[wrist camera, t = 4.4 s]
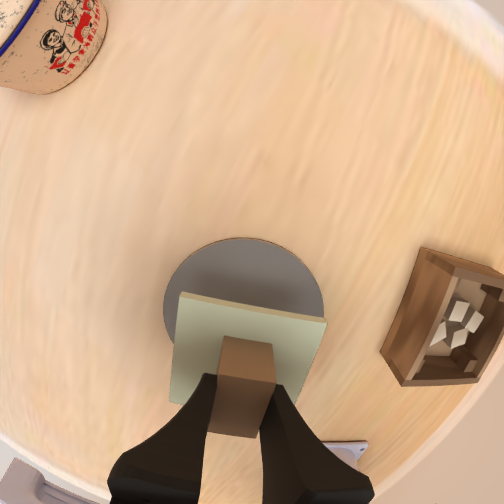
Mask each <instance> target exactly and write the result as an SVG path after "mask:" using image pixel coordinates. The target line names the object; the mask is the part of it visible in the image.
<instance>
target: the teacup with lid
mask: <svg viewBox="0 0 504 504" xmlns="http://www.w3.org/2000/svg"><path fill="white" fill-rule="evenodd" d="M106 26H107V16H106V11H105V9H104V7H103V5H102V4H101V2H100V1H99V0H0V86H2V87H7V88H12V89H17V90H21V91H26V92H30V93H34V94H47V93H51V92H54V91H57V90H59V89H61V88H63V87H64V86H66V85H67V84H69V83H70V82H72V81H73V80H74V79H75V78H76V77H78V76H79V75H80V74H81V73H82V72H83V70H84V69H85V68H86V67H87V66H88V65H89V63H90V62H91V61H92V59H93V58H94V56H95V55H96V53H97V51H98V49H99V48H100V45H101V43H102V41H103V38H104V35H105V32H106Z"/></svg>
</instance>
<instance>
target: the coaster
mask: <svg viewBox="0 0 504 504" xmlns="http://www.w3.org/2000/svg"><path fill="white" fill-rule="evenodd" d="M182 291H183V292H187V293H192V294H197V295H201V296H206V297H211V298H216V299H221V300H226V301H231V302H236V303H241V304H247V305H252V306H257V307H263V308H268V309H274V310H280V311H285V312H291V313H297V314H303V315H309V316H316V317H322V318H323V315H324V313H323V300H322V295H321V292H320V289H319V286H318V284H317V282H316V280H315V278H314V277H313V275H312V273H311V272H310V271H309V269H308V268H307V266H306V265H305V264H304V263H303V262H302V261H301V260H300V259H299V258H298V257H296V256H295V255H294V254H293V253H291V252H290V251H288V250H286V249H285V248H283V247H281V246H278V245H276V244H274V243H271V242H268V241H264V240H260V239H253V238H232V239H225V240H221V241H217V242H214V243H212V244H209V245H207V246H205V247H203V248H201V249H199V250H198V251H196V252H195V253H193V254H192V255H191V256H189V257H188V258H187V259H186V260H185V261H184V262H183V263H182V264H181V265H180V267H179V268H178V269H177V271H176V272H175V273H174V275H173V277H172V279H171V281H170V282H169V284H168V287H167V290H166V293H165V298H164V305H163V314H164V322H165V325H166V329H167V332H168V334H169V336H170V339H171V340H172V342H173V344H174V339H175V330H176V321H177V312H178V304H179V297H180V294H181V292H182Z"/></svg>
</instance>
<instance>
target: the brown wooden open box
mask: <svg viewBox="0 0 504 504" xmlns="http://www.w3.org/2000/svg"><path fill="white" fill-rule="evenodd" d="M503 335H504V275H503V274H501V273H499V272H498V271H496V270H494V269H492V268H490V267H486V266H483V265H480V264H477V263H474V262H470V261H467V260H464V259H461V258H457V257H454V256H451V255H447V254H444V253H441V252H437V251H434V250H430V249H427V248H423V247H421V248H420V251H419V254H418V257H417V260H416V263H415V266H414V269H413V272H412V275H411V278H410V281H409V284H408V286H407V289H406V292H405V294H404V297H403V300H402V302H401V305H400V307H399V310H398V312H397V315H396V317H395V319H394V322H393V324H392V327H391V329H390V331H389V333H388V336H387V338H386V340H385V342H384V345H383V347H382V349H381V351H380V353H381V355H382V356H383V358H384V359H385V361H386V363H387V364H388V366H389V367H390V369H391V371H392V372H393V374H394V376H395V377H396V379H397V380H398V382H399V384H400V385H401V387H404V386H442V385H459V384H471V383H478V381H479V379H480V378H481V376H482V374H483V373H484V371H485V369H486V368H487V366H488V364H489V362H490V360H491V359H492V357H493V355H494V353H495V351H496V349H497V347H498V345H499V343H500V341H501V339H502V337H503Z"/></svg>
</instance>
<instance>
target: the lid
mask: <svg viewBox="0 0 504 504" xmlns="http://www.w3.org/2000/svg"><path fill="white" fill-rule="evenodd" d="M326 326H327V322H326V320H325V318H322V317H316V316H309V315H303V314H297V313H291V312H285V311H280V310H274V309H268V308H263V307H257V306H252V305H247V304H241V303H236V302H231V301H226V300H221V299H216V298H211V297H206V296H201V295H197V294H192V293H187V292H183V291H182V292H181V294H180V297H179V304H178V312H177V321H176V330H175V339H174V349H173V359H172V371H171V383H170V396H169V402H172V403H176V404H181V405H185V403H186V402H187V401H188V399H189V398H190V396H191V395H192V394H193V392H194V391H195V389H196V387H197V386H198V384H199V382H200V380H201V377H202V374H203V373H210V374H215V375H218V378H217V390H216V394H215V399H214V404H213V409H212V413H211V418H210V423H209V427H208V431H207V432H212V433H218V434H225V435H232V436H239V437H247V438H256V436H257V434H258V431H259V427H260V425H261V422H262V420H263V417H264V414H265V412H266V409H267V407H268V404H269V401H270V398H271V396H272V393H273V392H274V389H275V386H276V384H281V385H283V386H284V388H285V390H286V391H287V393H288V395H289V397H290V399H291V401H292V402H293V404H294V405H295V403H296V401H297V398H298V396H299V394H300V392H301V389H302V387H303V384H304V382H305V380H306V377H307V375H308V372H309V370H310V368H311V365H312V363H313V360H314V358H315V355H316V352H317V350H318V347H319V345H320V342H321V339H322V337H323V334H324V331H325V329H326Z"/></svg>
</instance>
